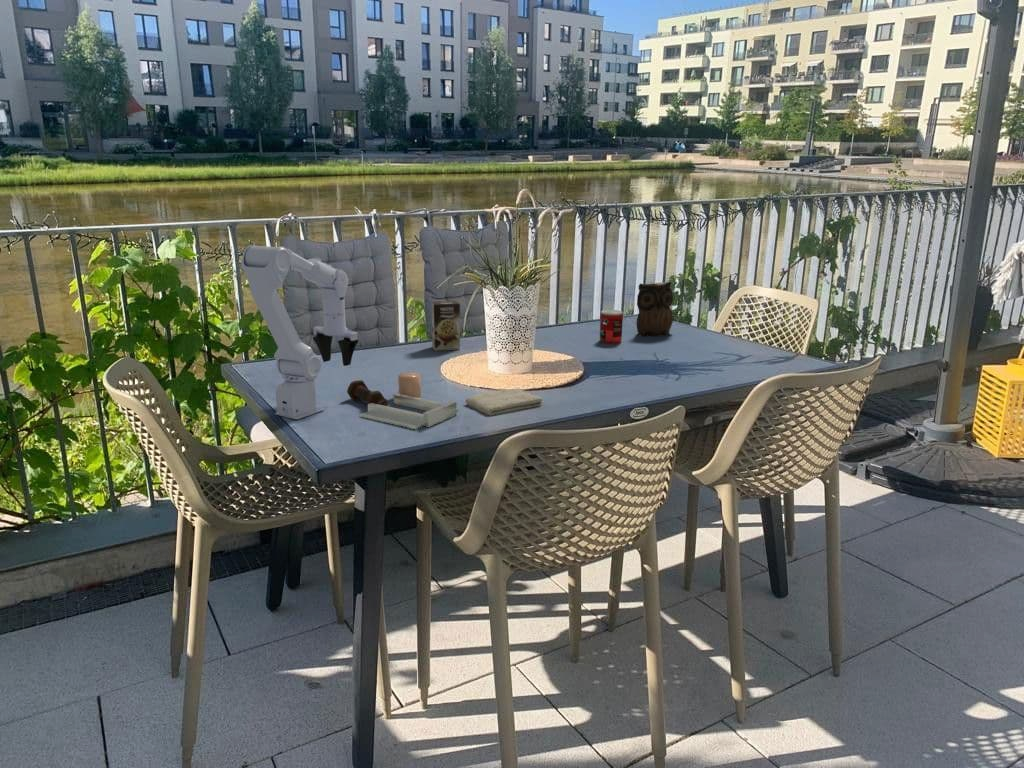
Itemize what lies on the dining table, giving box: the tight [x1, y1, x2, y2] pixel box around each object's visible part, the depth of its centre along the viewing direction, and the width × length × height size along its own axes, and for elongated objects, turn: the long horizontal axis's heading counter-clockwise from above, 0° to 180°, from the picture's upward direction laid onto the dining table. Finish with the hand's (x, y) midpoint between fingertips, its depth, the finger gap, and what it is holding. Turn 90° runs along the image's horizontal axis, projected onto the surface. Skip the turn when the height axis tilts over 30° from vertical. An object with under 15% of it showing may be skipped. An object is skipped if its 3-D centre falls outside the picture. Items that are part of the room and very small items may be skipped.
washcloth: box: [464, 387, 543, 416], centre depth 200 cm, size 12×18×3 cm, turn 124°
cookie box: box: [431, 300, 461, 352], centre depth 260 cm, size 9×6×16 cm
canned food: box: [599, 309, 624, 345], centre depth 273 cm, size 8×8×11 cm
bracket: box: [359, 392, 460, 431], centre depth 191 cm, size 18×20×4 cm
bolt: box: [346, 379, 389, 407], centre depth 199 cm, size 6×5×15 cm
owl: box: [636, 281, 675, 337], centre depth 284 cm, size 13×13×20 cm
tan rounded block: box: [397, 371, 422, 398], centre depth 206 cm, size 6×6×6 cm
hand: (336, 363), depth 204 cm, fingers open, 7 cm apart
